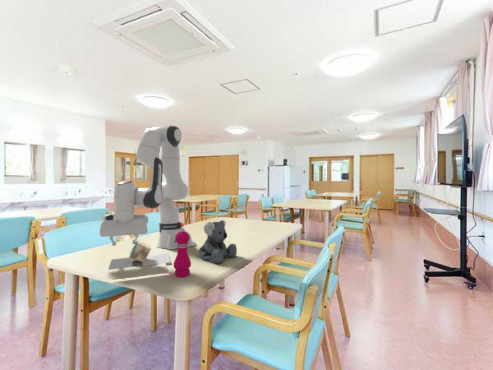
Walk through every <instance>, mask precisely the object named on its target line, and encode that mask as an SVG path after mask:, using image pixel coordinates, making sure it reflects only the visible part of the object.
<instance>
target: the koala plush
mask: <svg viewBox="0 0 493 370" xmlns="http://www.w3.org/2000/svg"><path fill="white" fill-rule="evenodd" d="M225 227H226V221H225V220H224V219H221V220H220V221H213V222H211V221H208V222H207V223H206V224H204V226H203V232H204V233H205V234H206V236H207V237H206V239H205V241H204V243H203V245H202V246H201V247H199V251H198V252H199V253H198V254H199V256H200V257H201V259H203V260H205V261H209V262H210V263H212V262H213V264H222V263H223V262H224V258H225V257H232V258H236V257H237V245H236V244H235V243H230V244H229V245H228V246H227V245H226V243H225V242H224V241H225V240H226V239H227V237H228V234H227V231H226V228H225ZM235 256H236V257H235Z"/></svg>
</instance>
